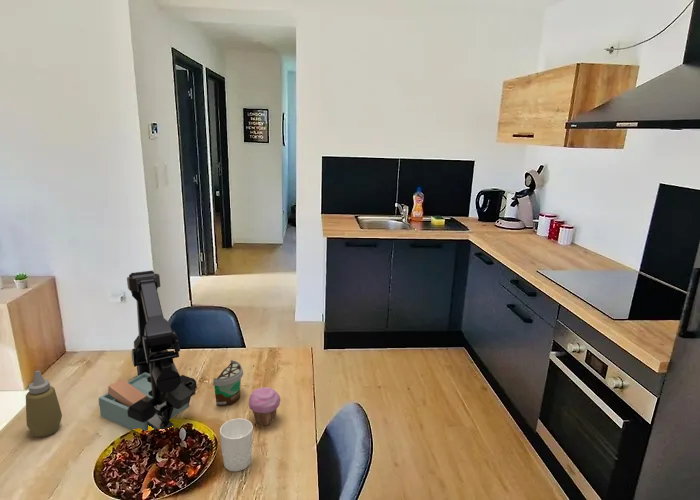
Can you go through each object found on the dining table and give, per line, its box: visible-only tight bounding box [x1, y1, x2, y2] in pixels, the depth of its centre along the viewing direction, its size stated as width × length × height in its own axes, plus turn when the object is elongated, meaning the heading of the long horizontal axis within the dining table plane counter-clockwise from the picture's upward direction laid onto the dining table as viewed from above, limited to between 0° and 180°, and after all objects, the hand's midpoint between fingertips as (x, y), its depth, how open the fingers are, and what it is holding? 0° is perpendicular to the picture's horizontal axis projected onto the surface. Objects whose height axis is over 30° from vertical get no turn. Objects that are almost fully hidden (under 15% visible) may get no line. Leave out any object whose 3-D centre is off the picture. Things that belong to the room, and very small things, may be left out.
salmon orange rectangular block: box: [107, 378, 146, 407], centre depth 129 cm, size 10×4×3 cm, turn 64°
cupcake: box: [248, 386, 281, 427], centre depth 130 cm, size 9×9×10 cm
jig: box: [98, 372, 190, 431], centre depth 132 cm, size 18×16×6 cm
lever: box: [115, 399, 175, 431], centre depth 127 cm, size 19×4×2 cm, turn 65°
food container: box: [212, 359, 244, 407], centre depth 139 cm, size 12×6×10 cm, turn 168°
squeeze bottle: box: [25, 369, 63, 438], centre depth 121 cm, size 8×8×18 cm
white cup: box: [219, 418, 254, 472], centre depth 113 cm, size 8×8×10 cm
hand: (166, 424), depth 124 cm, fingers closed, pressing on lever
